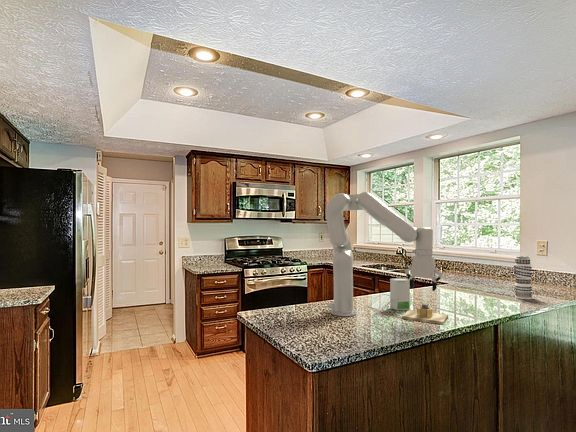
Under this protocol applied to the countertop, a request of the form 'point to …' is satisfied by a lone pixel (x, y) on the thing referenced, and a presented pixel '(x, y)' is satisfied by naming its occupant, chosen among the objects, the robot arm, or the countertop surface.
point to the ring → (424, 312)
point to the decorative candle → (523, 277)
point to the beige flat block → (434, 319)
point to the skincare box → (400, 294)
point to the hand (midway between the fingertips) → (422, 289)
